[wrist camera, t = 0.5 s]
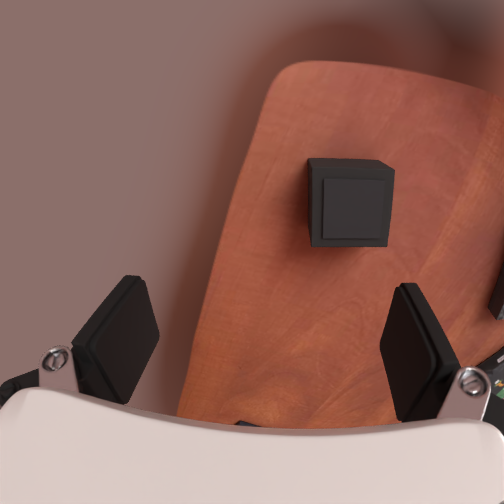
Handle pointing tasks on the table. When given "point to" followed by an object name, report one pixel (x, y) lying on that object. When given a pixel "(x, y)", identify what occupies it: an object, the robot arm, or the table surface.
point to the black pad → (349, 202)
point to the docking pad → (498, 298)
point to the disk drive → (495, 372)
